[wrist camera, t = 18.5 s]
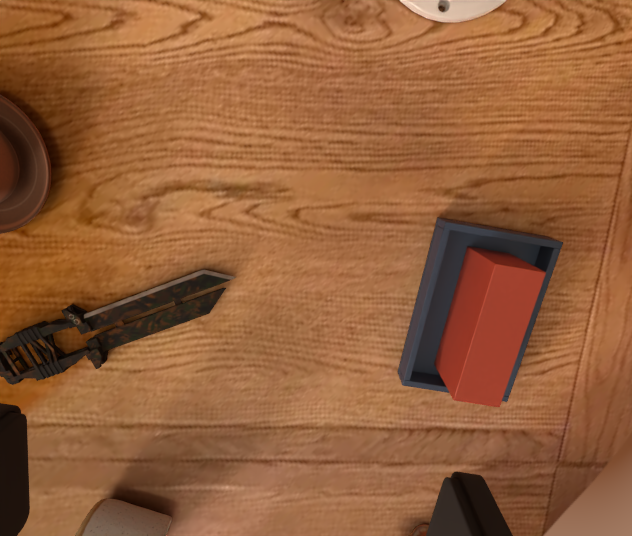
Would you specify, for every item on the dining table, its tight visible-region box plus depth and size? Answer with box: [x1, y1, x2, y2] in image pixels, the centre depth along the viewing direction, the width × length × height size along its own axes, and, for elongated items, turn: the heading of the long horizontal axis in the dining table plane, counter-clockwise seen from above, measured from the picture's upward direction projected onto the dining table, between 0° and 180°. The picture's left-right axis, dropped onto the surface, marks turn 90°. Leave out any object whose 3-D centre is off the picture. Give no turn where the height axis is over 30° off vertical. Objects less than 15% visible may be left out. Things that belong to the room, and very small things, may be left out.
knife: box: [0, 269, 236, 385], centre depth 38 cm, size 25×6×1 cm, turn 106°
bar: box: [434, 246, 546, 407], centre depth 35 cm, size 4×12×6 cm, turn 170°
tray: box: [398, 218, 563, 402], centre depth 37 cm, size 16×10×2 cm, turn 170°
